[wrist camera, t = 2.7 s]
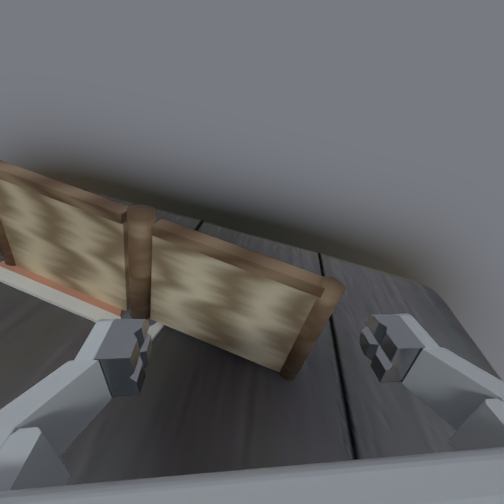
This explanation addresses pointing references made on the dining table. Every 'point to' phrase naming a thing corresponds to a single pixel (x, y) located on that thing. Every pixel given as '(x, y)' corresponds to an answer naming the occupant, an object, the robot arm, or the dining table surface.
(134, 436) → the dining table surface
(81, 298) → the card
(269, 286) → the fence panel
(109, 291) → the fence fixed
